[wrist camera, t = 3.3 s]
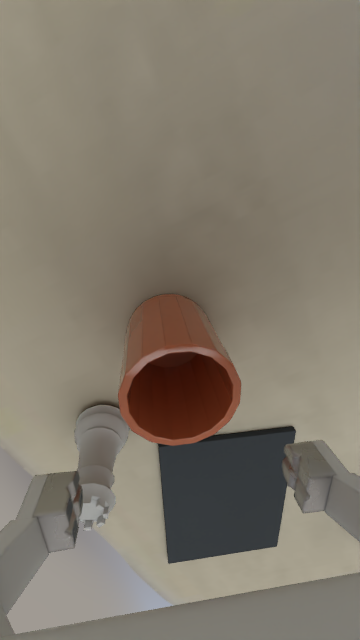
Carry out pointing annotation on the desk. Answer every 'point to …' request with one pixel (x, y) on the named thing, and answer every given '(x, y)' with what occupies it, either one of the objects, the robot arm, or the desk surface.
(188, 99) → the desk surface
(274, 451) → the mat
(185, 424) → the pot
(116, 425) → the rook chess piece
